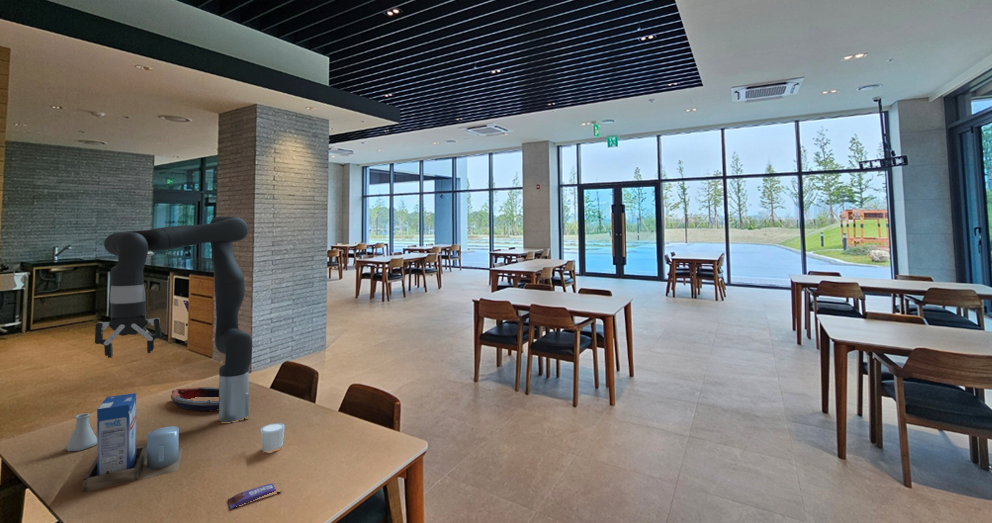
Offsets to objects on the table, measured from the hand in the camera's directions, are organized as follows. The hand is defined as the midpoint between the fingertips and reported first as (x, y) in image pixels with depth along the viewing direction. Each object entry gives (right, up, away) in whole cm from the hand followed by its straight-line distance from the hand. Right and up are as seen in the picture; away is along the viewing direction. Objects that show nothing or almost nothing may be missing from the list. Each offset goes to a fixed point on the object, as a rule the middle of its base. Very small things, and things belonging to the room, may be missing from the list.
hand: (130, 354), depth 117 cm
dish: (-11, -31, +44) cm, 55 cm away
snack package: (+45, -34, -14) cm, 59 cm away
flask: (-23, -31, +9) cm, 40 cm away
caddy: (+7, -32, -5) cm, 33 cm away
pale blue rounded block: (+11, -31, -2) cm, 33 cm away
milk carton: (+3, -31, -7) cm, 32 cm away
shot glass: (+36, -33, +10) cm, 50 cm away
